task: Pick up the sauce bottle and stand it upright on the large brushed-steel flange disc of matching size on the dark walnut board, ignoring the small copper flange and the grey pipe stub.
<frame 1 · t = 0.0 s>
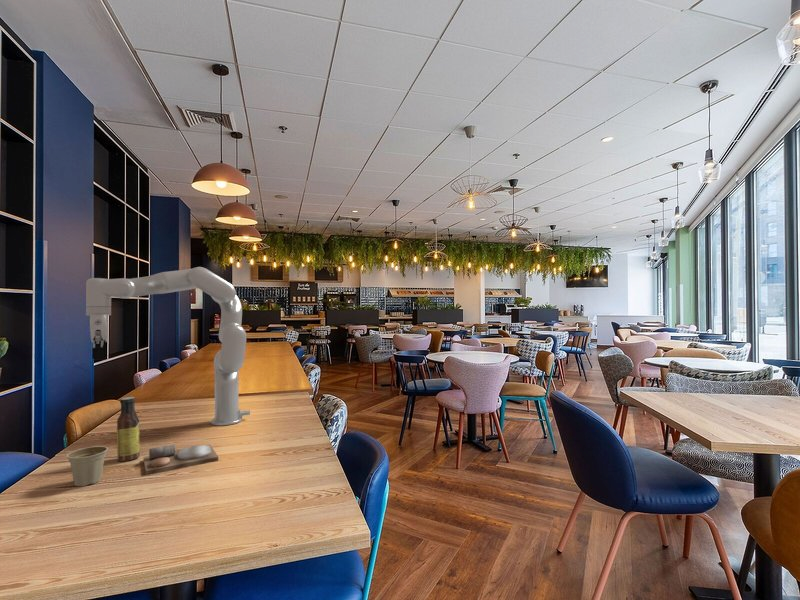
hand: (98, 357, 153), 31 cm above the table, fingers open, 9 cm apart
sauce bottle: (128, 459, 135), on the table
flower pot: (87, 482, 117), on the table
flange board: (180, 460, 133), on the table
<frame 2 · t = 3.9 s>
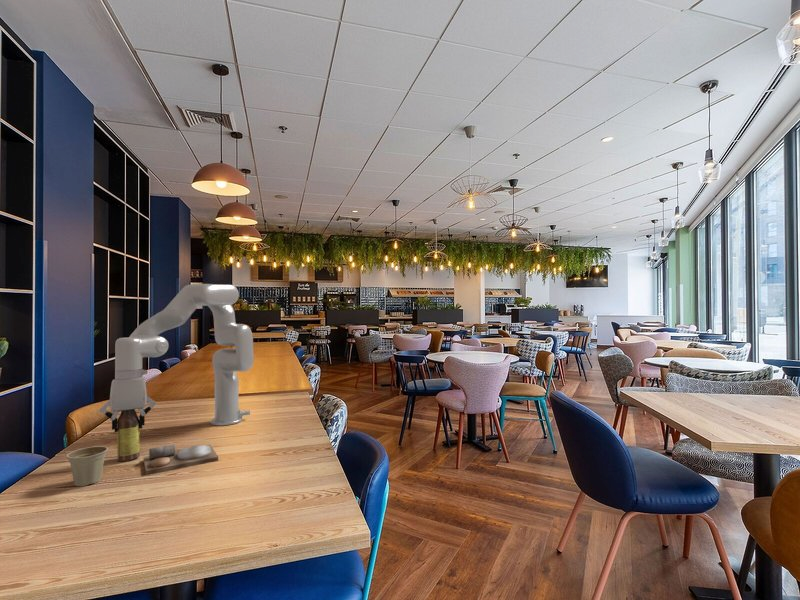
hand: (128, 429, 135), 10 cm above the table, fingers closed on sauce bottle, 6 cm apart
sauce bottle: (128, 459, 135), on the table, touching gripper
everything else where it was.
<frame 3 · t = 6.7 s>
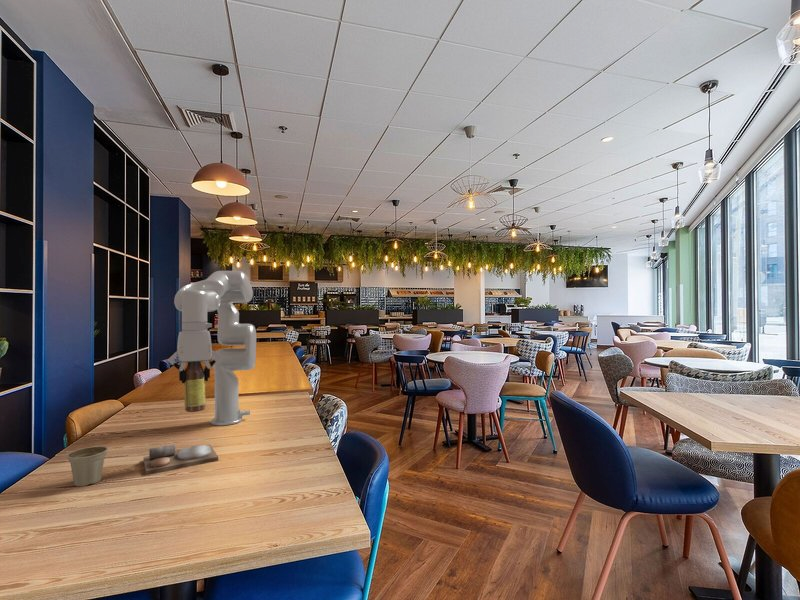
hand: (194, 381, 136), 25 cm above the table, fingers closed on sauce bottle, 6 cm apart
sauce bottle: (194, 410, 136), point 15 cm above the table, touching gripper
everything else where it was.
when the fingers open (13 cm above the table, at t = 9.4 s): sauce bottle stays where it is, resting on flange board.
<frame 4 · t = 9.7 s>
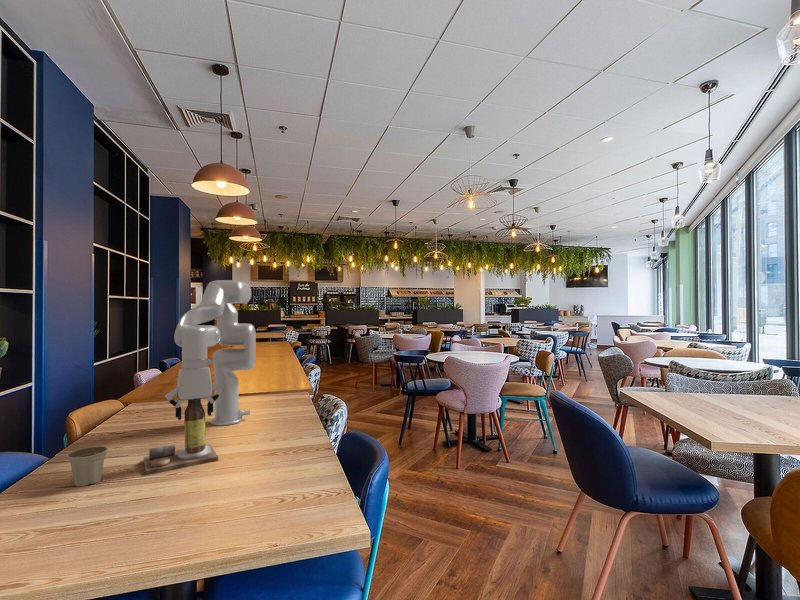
hand: (194, 416, 136), 13 cm above the table, fingers open, 8 cm apart
sauce bottle: (194, 450, 136), point 2 cm above the table, touching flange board
everything else where it was.
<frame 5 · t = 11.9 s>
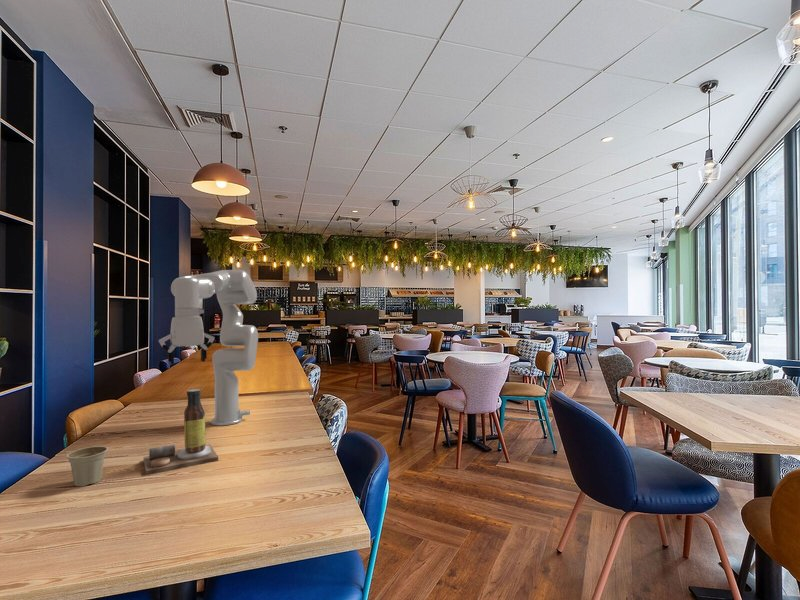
hand: (187, 362, 142), 31 cm above the table, fingers open, 9 cm apart
nothing on the table moved.
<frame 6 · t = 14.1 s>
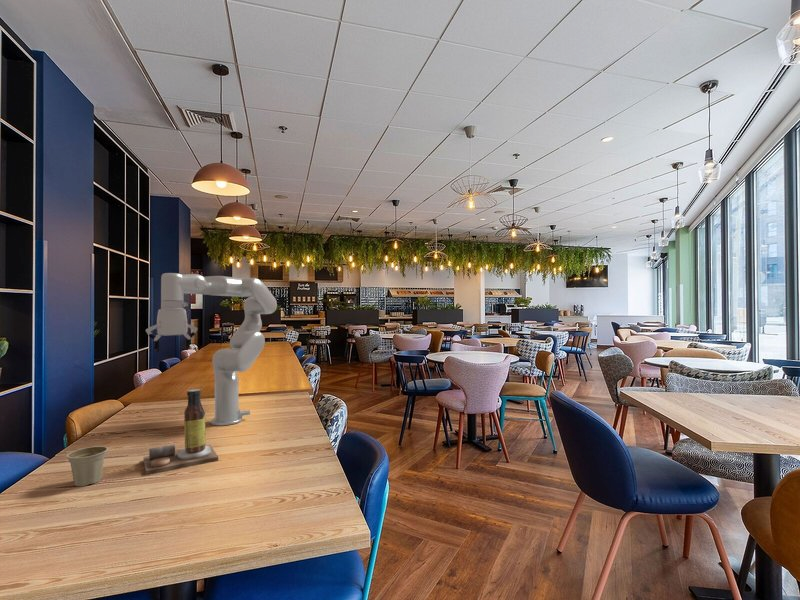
hand: (172, 350, 156), 33 cm above the table, fingers open, 9 cm apart
nothing on the table moved.
at the end: sauce bottle inside the target area on the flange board (0.3 cm from its centre), point 2.2 cm above the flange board's base; sauce bottle tilted 0°; the gripper is holding nothing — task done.
